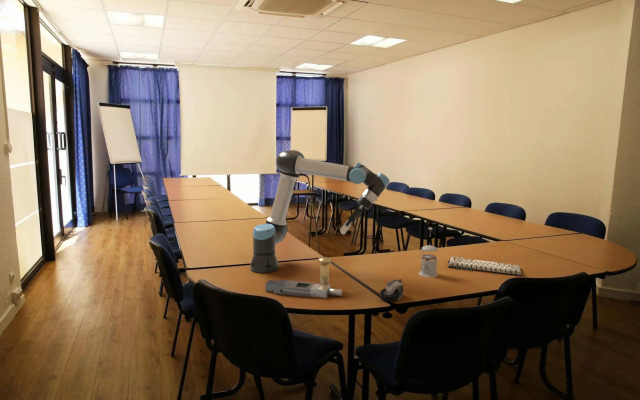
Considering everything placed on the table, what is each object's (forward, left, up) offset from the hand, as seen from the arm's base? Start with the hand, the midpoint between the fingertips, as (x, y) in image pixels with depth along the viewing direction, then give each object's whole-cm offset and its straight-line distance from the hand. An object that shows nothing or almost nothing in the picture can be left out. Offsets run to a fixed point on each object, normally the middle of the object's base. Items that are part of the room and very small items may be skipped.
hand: (341, 232), depth 211 cm
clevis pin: (-4, -22, -22) cm, 31 cm away
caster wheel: (+28, -27, -23) cm, 45 cm away
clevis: (-12, -31, -22) cm, 40 cm away
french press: (+43, +13, -22) cm, 50 cm away
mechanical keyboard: (+73, +33, -23) cm, 83 cm away
